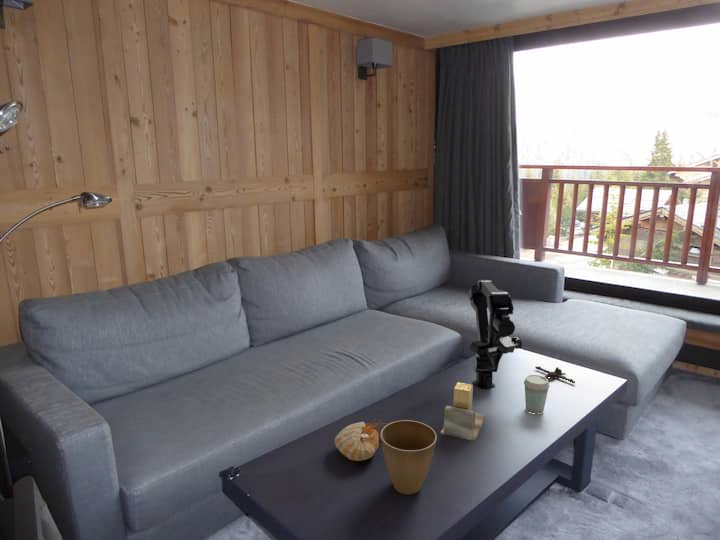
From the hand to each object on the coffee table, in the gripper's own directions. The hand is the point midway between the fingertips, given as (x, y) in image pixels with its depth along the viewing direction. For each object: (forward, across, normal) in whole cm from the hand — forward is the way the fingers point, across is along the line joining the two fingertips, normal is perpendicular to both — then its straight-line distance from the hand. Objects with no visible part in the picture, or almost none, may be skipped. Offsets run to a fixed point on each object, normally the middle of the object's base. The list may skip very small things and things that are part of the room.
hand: (494, 367), depth 188 cm
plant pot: (+13, -51, -34) cm, 63 cm away
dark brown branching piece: (+14, +32, +7) cm, 35 cm away
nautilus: (+13, -55, -13) cm, 58 cm away
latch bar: (+12, -21, -13) cm, 27 cm away
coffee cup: (+13, +9, -12) cm, 20 cm away
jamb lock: (+13, -19, -12) cm, 26 cm away
